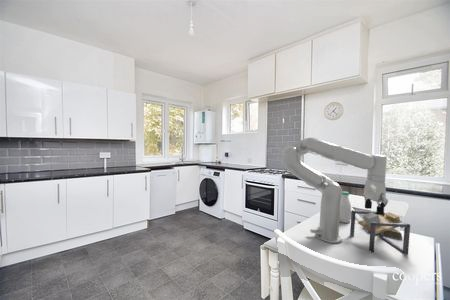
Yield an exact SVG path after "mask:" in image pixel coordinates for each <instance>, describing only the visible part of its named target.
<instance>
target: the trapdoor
mask: <svg viewBox="0 0 450 300" xmlns="http://www.w3.org/2000/svg"><path fill="white" fill-rule="evenodd" d="M384 213H385V216H382V215H378V216H379V219H380V222H384V223H403V220H401V217H400V216H398V215H396V214H394V213H392V212H384ZM357 224H358V225H360V226H361V227H362V228H363V229H365V228H366V229H367V230H369V231H370V226H368V225H367V224H365V221H364V219H362V220H359V221H357ZM393 228H394V229H396V228H398V227H394V226H376V228H375V235H376V234H377V233H380V232H384V231H387V230H390V229H393ZM366 229H365V230H366ZM367 230H366V231H367Z"/></svg>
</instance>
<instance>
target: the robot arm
mask: <svg viewBox="0 0 450 300" xmlns="http://www.w3.org/2000/svg"><path fill="white" fill-rule="evenodd" d="M308 153H309V154H312V155H315V156H318V157H322V158H325V159H328V160H330V161H334V162H338V163H343V164H347V165H350V166H354V167H356V168H359V169H362V170H367V172H366V173H367V174H366V180H365V182H364V189H363V198H364V208H365V209H372V208H373V207H372V205H373V202H376V204H377V206H376V211H375V212H376V215H377V214H378V215H383V214H384V213H385V208H386V206H387V205H388V203H389V200H388V198H387V195H386V193H387V191H386V190H387V187H386V174H387V156H386V155H384V154H369V153H368V154H367V153H364V152H361V151H358V150H353V149H351V148H347V147H344V146H342V145H339V144H334V143H331V142H328V141H325V140H322V139H318V138H315V137H306V138H304V139H302V140H299V141H297V142H294V143H292V144H290V145H287V146H285V147H284V149H283V150H282V157H283V158H282V159H283V161H282V162H283V164H284V165H283V166H285V168H286V170H287V171H288V172H289V173H291V174H292V175H294V176H295V177H296V178H298V179H299V180H301V181H302V182H303V183H305V184H306V185H308V187H312V188H313V189H315V190H317V191H319V192H321V199H320V208H319V209H320V212H319V226H317V228H315V229H314V228H310V233H312V234H314V235H315V237H317V239H319V240H321V241H323V242H326V243H330V244H340V243H342V241H343V238H342V237H341V236H340V221H339V220H340V204H341V199H342V191H343V189H342V187H341V186H340V184H339V183H338V182H336V181H335V180H332V179H330V178H329V177H327V176H326V175H325V174H323V173H322V172H320V171H318V170H316V169H315V168H311V167H310V166H308V165H307V164H305V163H304V162H302V160H300V157H301V156H304V155H306V154H308Z"/></svg>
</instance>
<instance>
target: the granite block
mask: <svg viewBox="0 0 450 300" xmlns="http://www.w3.org/2000/svg"><path fill="white" fill-rule="evenodd" d="M362 216H363V217H362V218H363V220H364V221H365V224H367V225H368V226H370V227H371V222H380V219H379V216H378V215H377V214H374V213H372V212H371V213H367V214H362Z"/></svg>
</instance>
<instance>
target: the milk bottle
mask: <svg viewBox="0 0 450 300" xmlns="http://www.w3.org/2000/svg"><path fill="white" fill-rule="evenodd" d="M349 196H350V193H349V191H346V190H345V191H343V190H342V199H341V204H340V220H339V223H344V224H349V223H351V211H352V204H351V201H350V198H349Z"/></svg>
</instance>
